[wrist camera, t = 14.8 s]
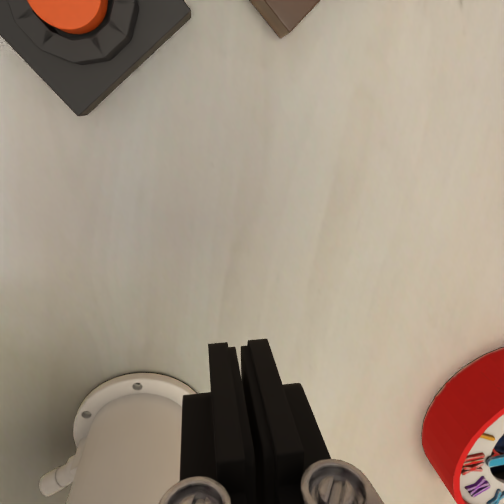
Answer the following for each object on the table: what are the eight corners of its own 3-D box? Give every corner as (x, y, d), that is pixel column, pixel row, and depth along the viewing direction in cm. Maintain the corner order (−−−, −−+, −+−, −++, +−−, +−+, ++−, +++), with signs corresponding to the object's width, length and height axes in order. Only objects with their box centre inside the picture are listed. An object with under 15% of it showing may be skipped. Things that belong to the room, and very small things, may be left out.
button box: (86, 115, 28) (70, 118, 24) (-24, -2, 25) (-63, -19, 21) (191, 17, 27) (190, 4, 23) (89, -120, 23) (69, -161, 20)
